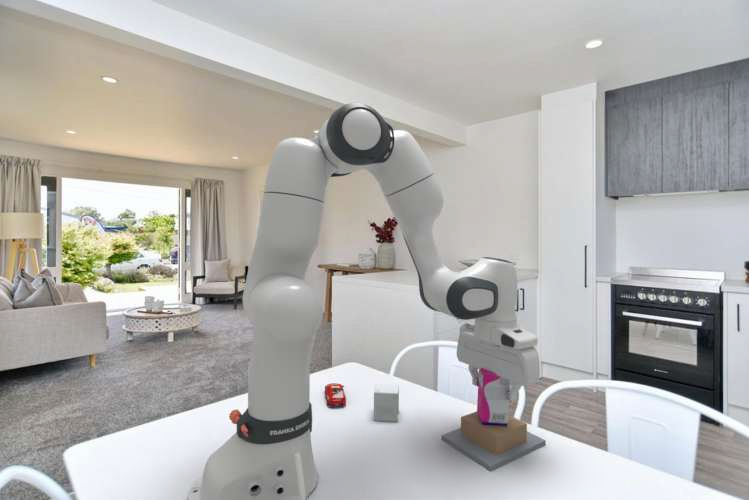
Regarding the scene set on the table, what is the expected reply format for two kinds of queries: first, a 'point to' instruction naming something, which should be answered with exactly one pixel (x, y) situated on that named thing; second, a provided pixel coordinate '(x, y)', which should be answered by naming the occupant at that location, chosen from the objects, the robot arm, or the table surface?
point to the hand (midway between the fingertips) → (493, 392)
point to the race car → (335, 395)
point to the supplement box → (492, 398)
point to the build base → (486, 454)
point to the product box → (386, 402)
